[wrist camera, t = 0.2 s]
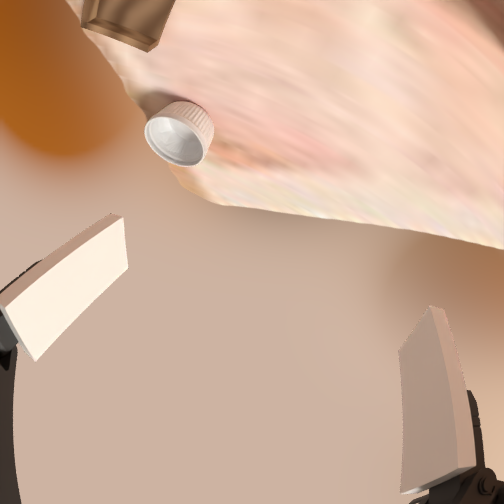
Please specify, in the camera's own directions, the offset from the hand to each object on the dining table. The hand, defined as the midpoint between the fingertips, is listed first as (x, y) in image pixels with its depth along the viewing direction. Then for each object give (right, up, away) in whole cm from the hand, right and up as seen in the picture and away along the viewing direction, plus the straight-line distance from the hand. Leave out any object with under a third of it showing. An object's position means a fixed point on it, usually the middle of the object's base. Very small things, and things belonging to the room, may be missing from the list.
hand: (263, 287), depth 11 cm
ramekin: (-13, +28, +40) cm, 50 cm away
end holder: (-19, +41, +15) cm, 48 cm away
